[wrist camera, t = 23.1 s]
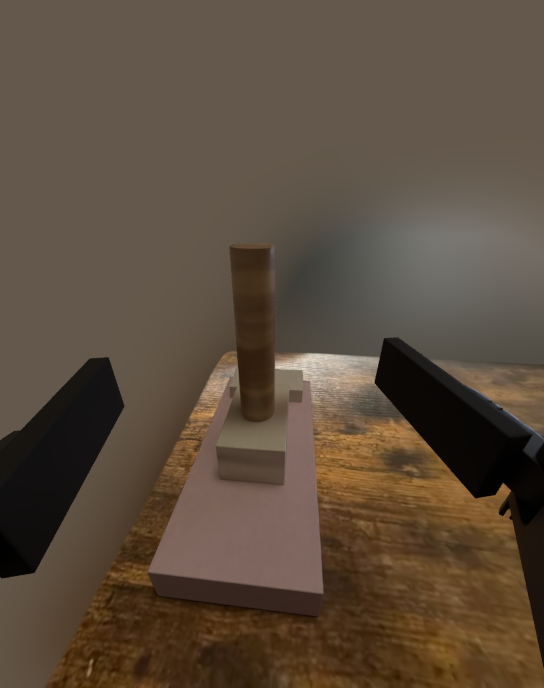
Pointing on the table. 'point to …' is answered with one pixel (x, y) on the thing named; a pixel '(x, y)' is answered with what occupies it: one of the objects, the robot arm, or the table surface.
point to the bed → (248, 524)
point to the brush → (254, 375)
